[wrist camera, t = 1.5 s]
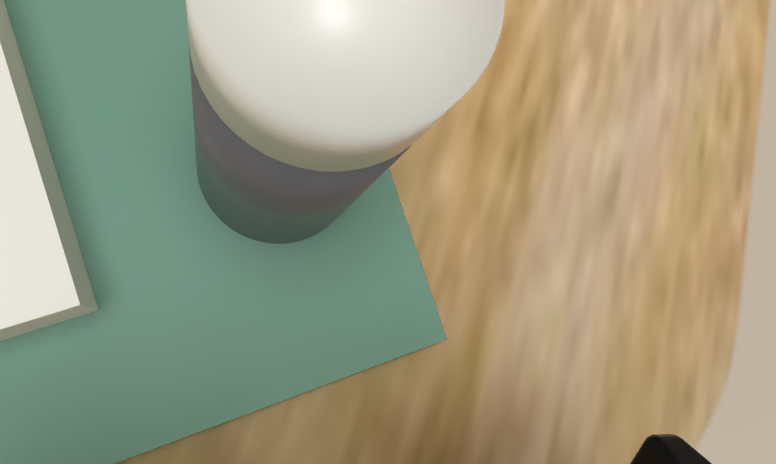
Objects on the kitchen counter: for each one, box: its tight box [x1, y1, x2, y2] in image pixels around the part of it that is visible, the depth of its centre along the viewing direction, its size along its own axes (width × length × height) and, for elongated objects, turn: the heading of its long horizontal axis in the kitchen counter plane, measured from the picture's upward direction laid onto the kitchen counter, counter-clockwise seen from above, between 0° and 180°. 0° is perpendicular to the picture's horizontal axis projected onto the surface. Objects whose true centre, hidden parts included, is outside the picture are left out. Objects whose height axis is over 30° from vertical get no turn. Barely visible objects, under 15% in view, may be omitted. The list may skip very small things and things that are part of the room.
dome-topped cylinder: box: [186, 0, 505, 244], centre depth 16 cm, size 5×5×12 cm
